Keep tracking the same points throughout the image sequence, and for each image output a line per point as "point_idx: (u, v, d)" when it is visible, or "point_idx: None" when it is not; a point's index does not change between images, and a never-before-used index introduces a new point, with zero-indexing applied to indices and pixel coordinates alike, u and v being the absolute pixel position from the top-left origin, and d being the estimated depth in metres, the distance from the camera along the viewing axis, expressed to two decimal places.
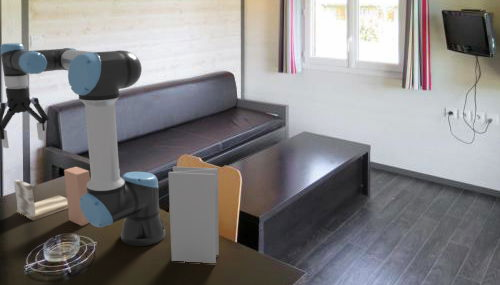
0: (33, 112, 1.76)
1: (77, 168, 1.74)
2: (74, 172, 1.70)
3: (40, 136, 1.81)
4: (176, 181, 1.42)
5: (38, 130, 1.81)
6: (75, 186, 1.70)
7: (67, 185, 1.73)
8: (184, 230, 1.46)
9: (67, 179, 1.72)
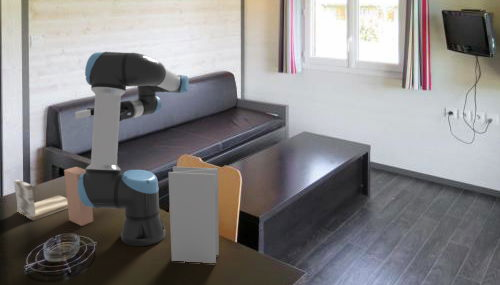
0: None
1: (77, 168, 1.74)
2: (74, 172, 1.70)
3: None
4: (176, 181, 1.42)
5: None
6: (75, 186, 1.70)
7: (67, 185, 1.73)
8: (184, 230, 1.46)
9: (67, 179, 1.72)
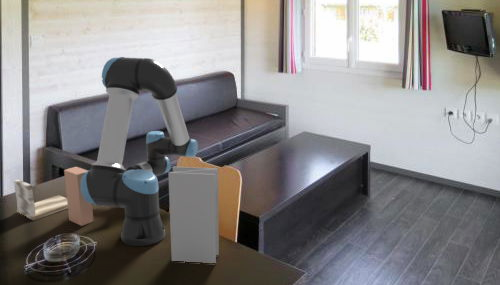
0: None
1: (77, 168, 1.74)
2: (74, 172, 1.70)
3: None
4: (176, 181, 1.42)
5: None
6: (75, 186, 1.70)
7: (67, 185, 1.73)
8: (184, 230, 1.46)
9: (67, 179, 1.72)
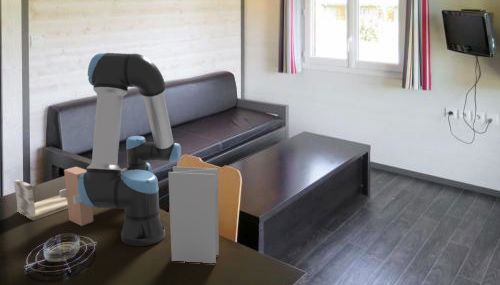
0: None
1: (77, 168, 1.74)
2: (74, 172, 1.70)
3: None
4: (176, 181, 1.42)
5: None
6: (75, 186, 1.70)
7: (67, 185, 1.73)
8: (184, 230, 1.46)
9: (67, 179, 1.72)
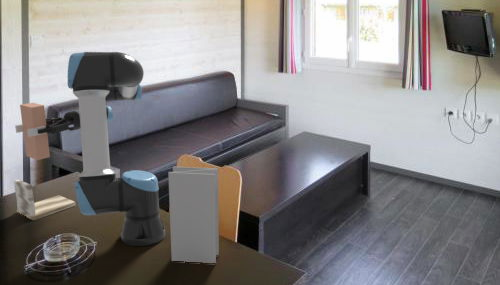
0: (56, 123, 1.80)
1: (33, 103, 1.77)
2: (29, 106, 1.72)
3: None
4: (176, 181, 1.42)
5: None
6: (30, 119, 1.73)
7: (23, 119, 1.76)
8: (184, 230, 1.46)
9: (23, 114, 1.75)
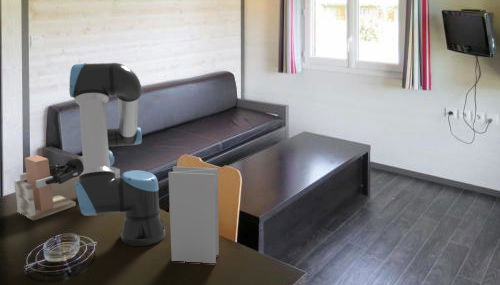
0: (61, 172, 1.86)
1: (37, 156, 1.82)
2: (34, 160, 1.78)
3: None
4: (176, 181, 1.42)
5: None
6: (35, 173, 1.78)
7: (28, 172, 1.81)
8: (184, 230, 1.46)
9: (27, 167, 1.80)
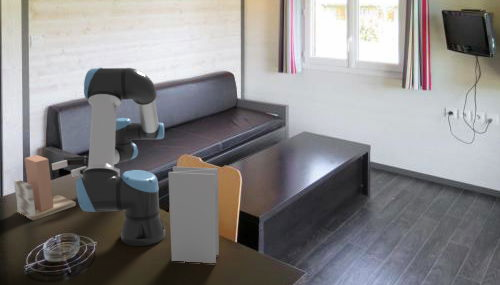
0: None
1: (37, 156, 1.82)
2: (34, 160, 1.78)
3: None
4: (176, 181, 1.42)
5: None
6: (35, 173, 1.78)
7: (28, 172, 1.81)
8: (184, 230, 1.46)
9: (27, 167, 1.80)
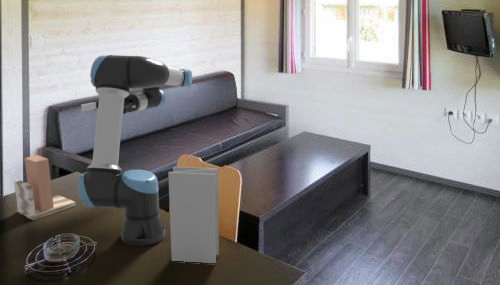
0: None
1: (37, 156, 1.82)
2: (34, 160, 1.78)
3: None
4: (176, 181, 1.42)
5: None
6: (35, 173, 1.78)
7: (28, 172, 1.81)
8: (184, 230, 1.46)
9: (27, 167, 1.80)
